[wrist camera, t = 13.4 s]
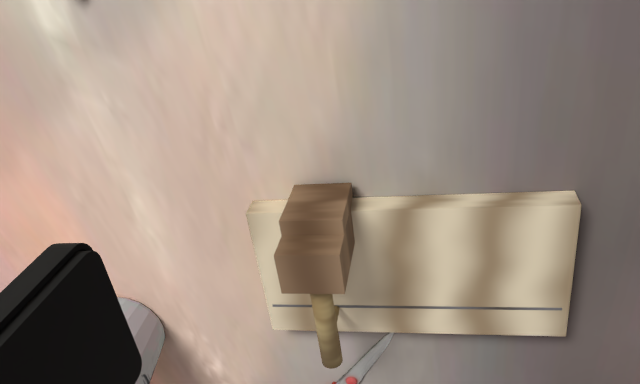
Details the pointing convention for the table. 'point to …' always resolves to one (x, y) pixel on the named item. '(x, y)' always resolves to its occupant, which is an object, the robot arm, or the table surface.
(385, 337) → the scissors
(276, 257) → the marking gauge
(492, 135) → the table surface
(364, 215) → the maple board
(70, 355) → the robot arm
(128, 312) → the mug
